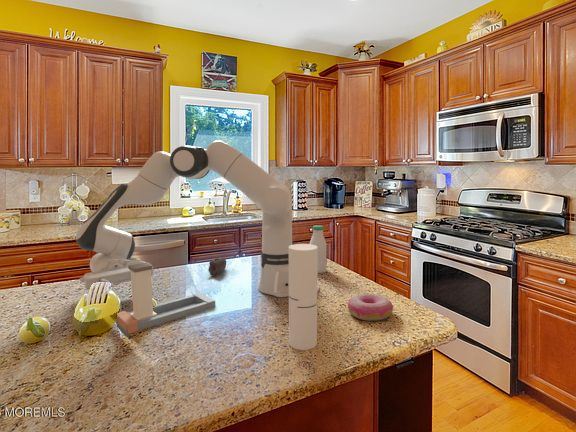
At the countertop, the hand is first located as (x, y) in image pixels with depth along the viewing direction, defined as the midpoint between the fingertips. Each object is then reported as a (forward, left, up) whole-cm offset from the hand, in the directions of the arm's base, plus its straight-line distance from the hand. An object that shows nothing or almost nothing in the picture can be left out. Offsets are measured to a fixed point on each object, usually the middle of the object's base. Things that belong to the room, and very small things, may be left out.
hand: (127, 281), depth 104 cm
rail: (-13, +6, -10) cm, 17 cm away
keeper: (-7, +10, -9) cm, 15 cm away
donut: (-73, +11, -11) cm, 75 cm away
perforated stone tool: (-25, -38, -11) cm, 47 cm away
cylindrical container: (-50, +26, -11) cm, 57 cm away
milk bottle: (-68, -35, -11) cm, 77 cm away
